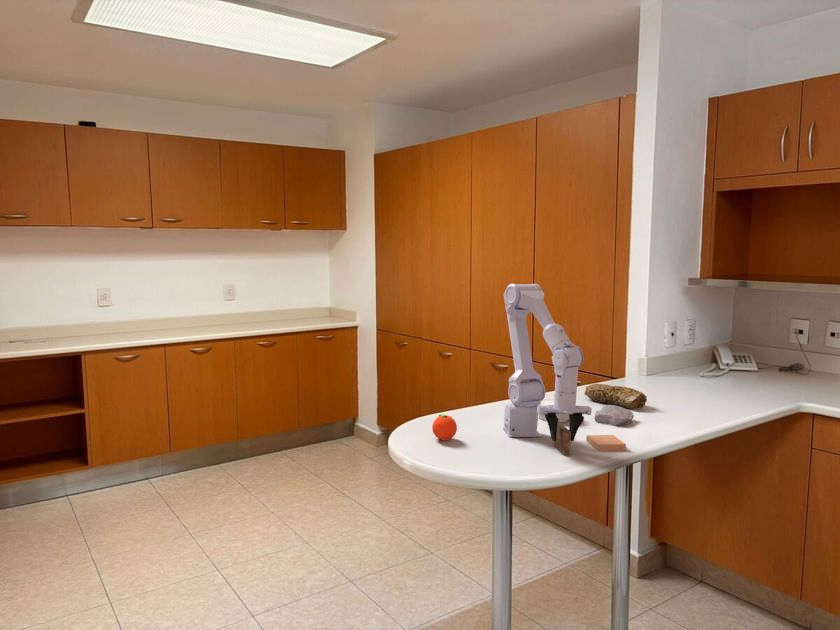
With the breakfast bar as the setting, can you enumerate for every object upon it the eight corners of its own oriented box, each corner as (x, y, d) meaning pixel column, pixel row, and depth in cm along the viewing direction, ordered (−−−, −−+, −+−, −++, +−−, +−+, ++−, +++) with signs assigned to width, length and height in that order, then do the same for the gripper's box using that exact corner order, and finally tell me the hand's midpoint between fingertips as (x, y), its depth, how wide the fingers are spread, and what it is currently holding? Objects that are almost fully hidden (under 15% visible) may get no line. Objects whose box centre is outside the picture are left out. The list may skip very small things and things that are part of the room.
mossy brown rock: (648, 411, 215) (603, 387, 231) (651, 391, 212) (606, 368, 228) (622, 422, 208) (578, 397, 224) (625, 402, 205) (580, 378, 221)
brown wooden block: (563, 455, 161) (565, 432, 161) (553, 445, 169) (555, 423, 168) (569, 455, 162) (571, 432, 161) (559, 445, 169) (560, 423, 169)
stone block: (634, 425, 198) (605, 413, 204) (638, 412, 197) (608, 400, 203) (620, 435, 189) (591, 422, 195) (624, 421, 188) (594, 409, 193)
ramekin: (529, 418, 195) (530, 402, 194) (546, 412, 204) (546, 396, 203) (561, 426, 188) (562, 409, 187) (577, 419, 197) (578, 403, 196)
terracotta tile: (597, 444, 166) (625, 444, 167) (586, 435, 174) (613, 435, 175) (597, 452, 166) (625, 451, 167) (586, 442, 174) (612, 442, 175)
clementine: (426, 435, 174) (427, 411, 173) (447, 433, 176) (448, 409, 176) (438, 444, 166) (439, 419, 166) (460, 442, 169) (461, 417, 168)
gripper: (544, 394, 159) (541, 445, 160) (597, 395, 160) (593, 444, 162) (535, 388, 166) (533, 436, 167) (587, 388, 167) (583, 436, 169)
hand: (562, 440), depth 165 cm, fingers open, 4 cm apart
